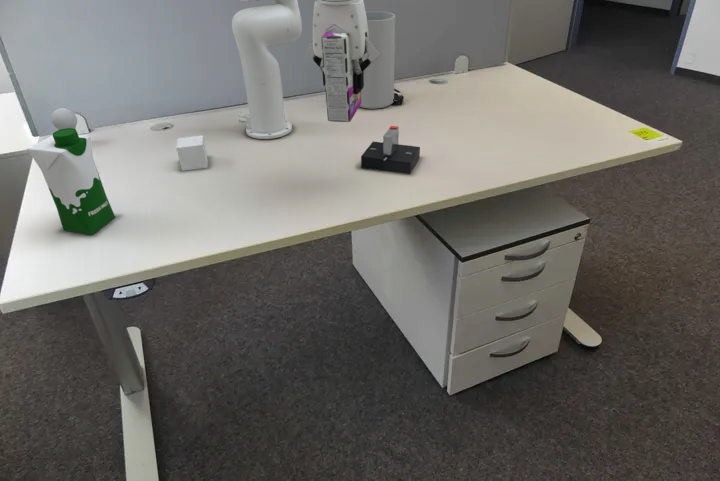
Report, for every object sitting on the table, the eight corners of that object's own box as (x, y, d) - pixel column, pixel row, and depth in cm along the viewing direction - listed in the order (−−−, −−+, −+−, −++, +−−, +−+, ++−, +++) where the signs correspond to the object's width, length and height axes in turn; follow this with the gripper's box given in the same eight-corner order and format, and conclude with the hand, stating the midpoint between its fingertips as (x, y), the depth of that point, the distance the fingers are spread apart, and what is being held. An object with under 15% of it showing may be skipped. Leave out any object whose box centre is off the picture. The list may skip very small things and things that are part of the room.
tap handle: (391, 157, 121) (391, 135, 118) (383, 156, 122) (383, 134, 119) (398, 146, 126) (398, 126, 123) (390, 145, 127) (390, 125, 124)
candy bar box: (339, 102, 112) (335, 22, 103) (362, 103, 112) (360, 22, 102) (325, 121, 103) (320, 35, 94) (350, 123, 103) (346, 36, 93)
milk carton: (93, 238, 102) (56, 143, 90) (55, 232, 104) (15, 138, 93) (122, 215, 109) (91, 124, 97) (86, 210, 111) (52, 120, 100)
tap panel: (360, 168, 123) (360, 156, 122) (373, 151, 131) (373, 139, 130) (409, 175, 120) (409, 163, 118) (420, 157, 128) (420, 145, 126)
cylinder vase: (374, 93, 168) (373, 9, 154) (402, 102, 160) (404, 15, 146) (345, 102, 161) (341, 16, 147) (373, 112, 153) (372, 22, 139)
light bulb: (89, 144, 140) (76, 108, 134) (66, 151, 137) (53, 114, 131) (79, 138, 143) (67, 103, 138) (57, 145, 140) (44, 109, 134)
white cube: (207, 167, 126) (202, 144, 123) (181, 171, 125) (176, 148, 122) (207, 157, 131) (202, 135, 128) (183, 160, 130) (177, 138, 127)
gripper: (287, -6, 94) (297, 93, 105) (377, -3, 89) (378, 100, 100) (305, -12, 100) (312, 82, 110) (390, -10, 95) (389, 88, 105)
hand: (343, 90), depth 105 cm, fingers closed on candy bar box, 5 cm apart
